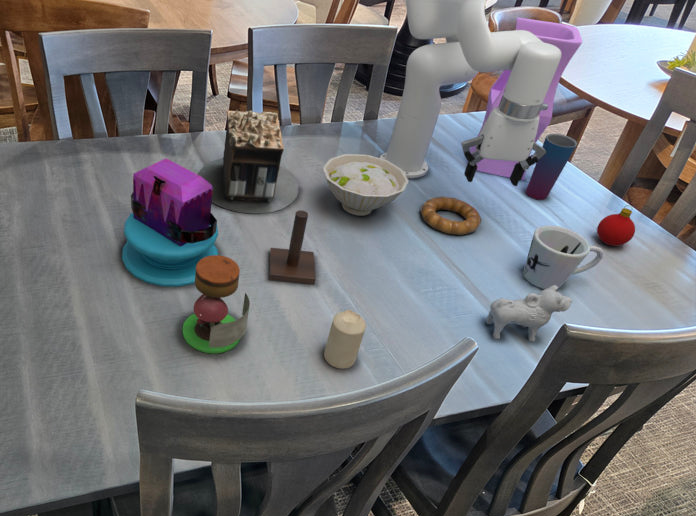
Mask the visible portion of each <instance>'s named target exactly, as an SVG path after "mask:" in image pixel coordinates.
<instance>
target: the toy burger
mask: <svg viewBox="0 0 696 516" xmlns="http://www.w3.org/2000/svg"><path fill="white" fill-rule="evenodd" d="M240 271H241V269H240V266H239V265H238V263H237V262H236V261H235V260H233V259H232V258H230V257H228V256H224V255H219V254H218V255H212V256H207V257H205V258H203V259H201V260H200V261H199V262H198V263H197V265H196V272H195V283H194V286H195V288H196V289H197V291H198V292H199V293H200V294H201V295H200V296H199V297H198V298H197V299H196V300H195V302H194V304H193V314H191V315H189V316H188V317H187V318H186V319H185V321H184V323H183V324H182V336H183V339H184V340H185V342H186V344H188V345H189V346H190V347H191V348H193V349H195V350H197V351H199V352H202V353H205V354H221V353H226V352H228V351H231V350H232V349H234V348H235V347H236V346H237V345H238V344H239V342H240V341H241V338H242V337H243V336H244V335H245V334H246V331H247V327H248V320H249V312H250V305H251V302H250V298H249V296H248V294H247V293H246V292H244V297H243V305H242V313H241V315H242V316H241V317H239V318H237V319H236V318H235V317H233V316H231V314H229V307H228V304H227V303H226V302H225V300H223V299H222V298H227V297H230V296H232V295H233V294H235V293H236V291H237V290H238V287H239V279H240Z"/></svg>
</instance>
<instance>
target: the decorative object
mask: <svg viewBox="0 0 696 516" xmlns="http://www.w3.org/2000/svg"><path fill="white" fill-rule="evenodd" d="M197 174H198V173H195V172H193V171H191V170H190V169H188V168H186V167H184V166H182V165H180V164H178V163H176V162H174V161H172V160H170V159H168V158H167V157H166V158H163V159H161V160H159V161H157V162H155V163H153V164H151V165H148V166H147V167H145V168H142V169H140V170H138V171H136V172H133V174H132V175H133V176H132V178H133V179H132V193H131V195H130V209H131V211H132V212H131V213H130V214H129V216H128V217H127V218H126V220H125V221H124V227H123V234H124V236H125V239H126V242H125V244H124V245H123V247H122V252H121V260H122V262H123V264H124V267H125V269H126V270H127V271H128V272H129V273H130V274H131V275H132V276H134V278H137V279H139V280H141V281H143V282H144V283H147V284H151V285H155V286H159V287H175V288H176V287H182V286H188V285H193V284H194V285H195V272H196V265H197V263H198V262H199V261H200V260H201V259H203V258H205V257H207V256H212V255H219V253H218V252H219V251H218V248H217V247H216V245H215V244H216V241H217V239H218V236H219V230H218V229H219V228H218V219H217V218H216V216H214V215H213V213H212V204H213V203H212V185H211V184H210V183H208V182H207V181H206V180H205V179H203V178H202V177H201V176H199V175H197Z"/></svg>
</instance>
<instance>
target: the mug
mask: <svg viewBox="0 0 696 516" xmlns="http://www.w3.org/2000/svg"><path fill="white" fill-rule="evenodd" d="M590 252H595V253H596V256H595V257H594V258H593V259H592V260H591V261H590V262H588V263H585V264H583V265H581V266H580V264H581V263H582V262H583V261H584V260H585V258H586V257H587V256H589V254H590ZM603 258H604V250H603V249H602V248H601V247H599V246H596V245H590V243H589V241H588V240H587V239H586V238H585V237H584V236H583V235H581V234H579V233H578V232H575V231H573V230H571V229H569V228H566V227H562V226H558V225H557V226H556V225H543V226H539V227H537V229H535V230H534V233H533V235H532V239H531V243H530V245H529V250H528V253H527V256H526V261H525V264H524V267H523V273H522V274H523V277H524V278H525V280H526V281H527V282H528V283H530V284H531V285H532V286H535V287H537V288H538V289H539V288H540V289H543V290H545V289H547V288H549V287H551V286H553V285H556V286H557V287H558V289H560V288H561V287H562V286H563V285H564V284H565V282H567V281H568V279H569V278H570V277H571V276H572V275H573V276H574V275H577V274H581V273H583V272H586V271H589V270H591V269H592V268H594V267H596V266H597V265H598V264H600V262H601V261H602V260H603Z"/></svg>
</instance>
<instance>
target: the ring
mask: <svg viewBox="0 0 696 516" xmlns="http://www.w3.org/2000/svg"><path fill="white" fill-rule="evenodd" d="M440 210H442V211H450V212H452V213H456V214H459V215H460V216H462V217H463V218H464V219H465V220H462V221H461V220H452V219H449V218H447V217H443V216H441V215H440V214H439V213H437V211H440ZM420 213H421V216H422V219H423V221H424V222H425V223H427V224H428V225H429V226H430V227H431V228H433V229H434V230H437V231H440V232H442V233H445V234H449V235H456V236H457V235H459V236H464V235H467V234H471V233H474V232H475V231H477V229H478V228H479V226H480V225H481V223H482V218H481V216H480V214H479V211H478V210H477V209H476V208H475V207H473V206H472V205H471V204H470V203H468V202H466V201H463V200H460V199H458V198H455V197H450V196H449V197H448V196H437V197H432V198H429V199H427V200H426V201H425V202H424V203H423V205H422V206H421V208H420Z"/></svg>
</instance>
